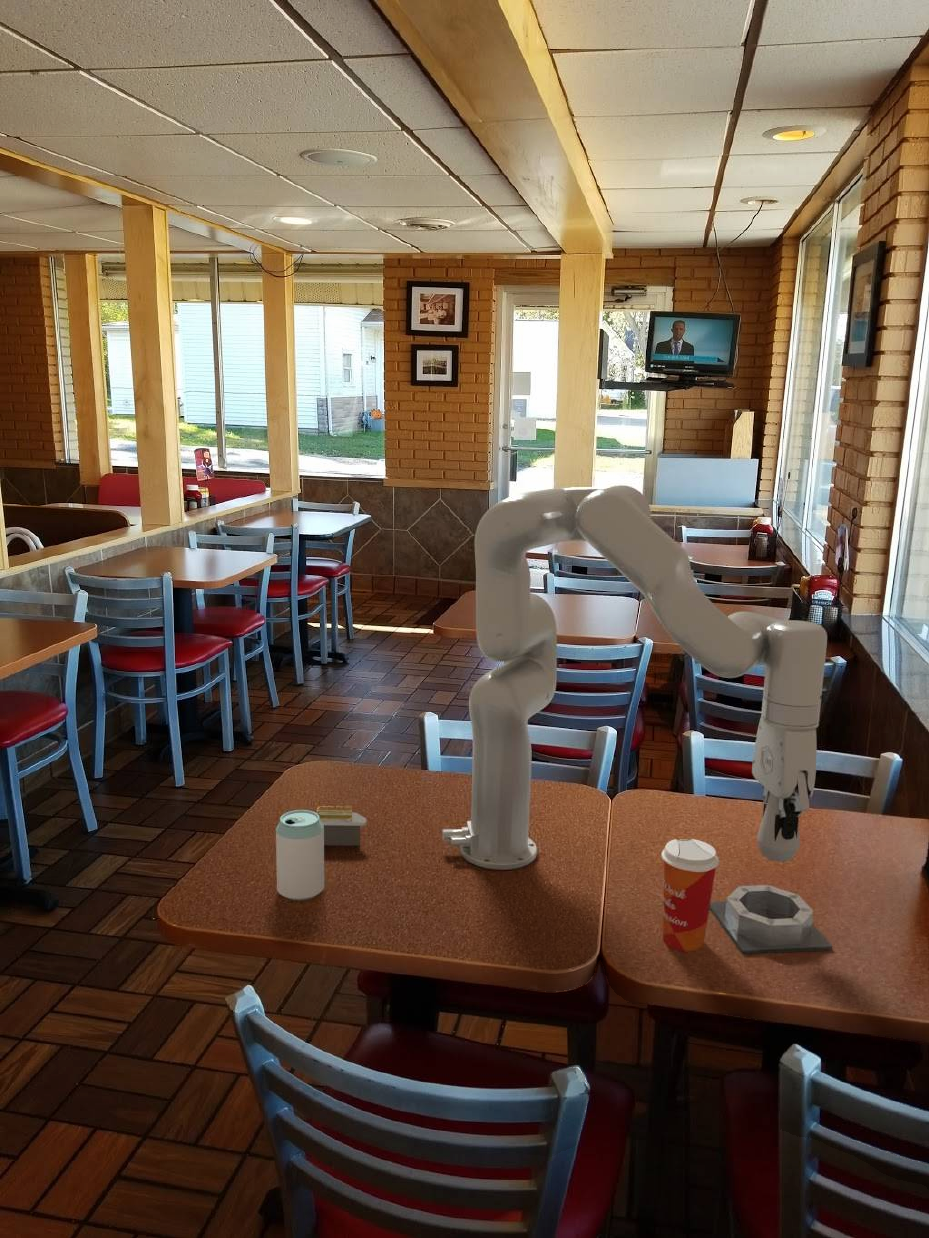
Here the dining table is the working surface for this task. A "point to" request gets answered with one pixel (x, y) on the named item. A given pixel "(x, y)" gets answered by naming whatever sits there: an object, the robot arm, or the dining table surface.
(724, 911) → the ring collar
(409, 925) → the dining table surface
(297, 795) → the dining table surface
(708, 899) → the paper cup
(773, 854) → the grey peg
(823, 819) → the dining table surface
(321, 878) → the can
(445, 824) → the dining table surface
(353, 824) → the platform
